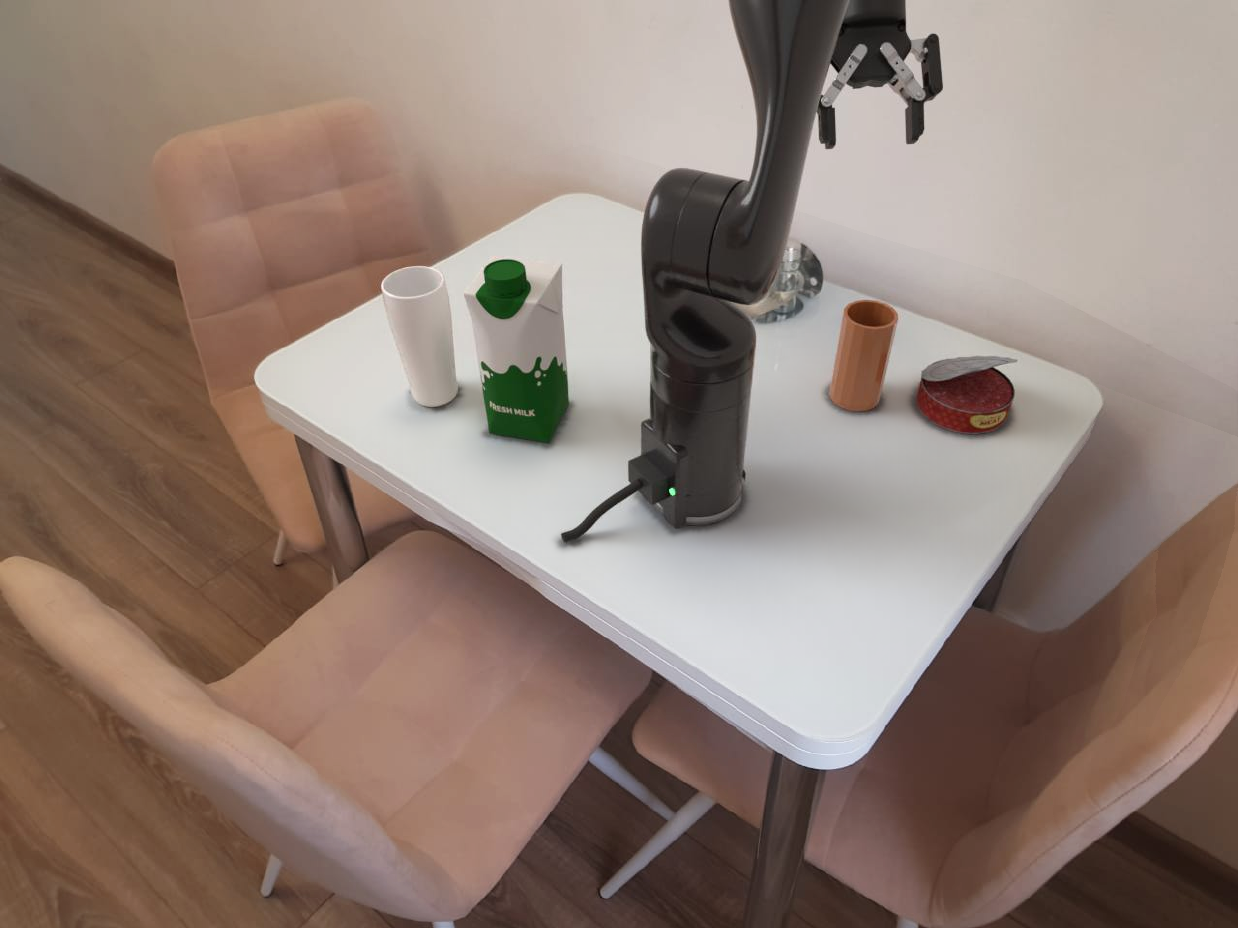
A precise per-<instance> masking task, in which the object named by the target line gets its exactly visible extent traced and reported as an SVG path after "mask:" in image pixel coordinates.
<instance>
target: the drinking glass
mask: <svg viewBox="0 0 1238 928" xmlns="http://www.w3.org/2000/svg"><path fill="white" fill-rule="evenodd" d="M380 288H381V289H380V290H381V293H382V299H383V301H382V302H383V306H384V309H385V314H386V319H387V321H388V325H389V328H390V331H391V334H392V337H393V341H394V343H395V346H396V348H397V351H398V354H399V357H400V361H401V363H402V364H401V365H402V366H403V367H402V368H403V370H404V373H405V375H406V379H407V382H408V385H409V386H408V387H409V391H410V394H411V397H412V399H413V401H414V402H416V404H418V405H420V406H422V407H428V408H434V407H441V406H444V405H447V404H448V403H450V402H452V401H453V400H454V399H455V398H456V396H457V394H458V391H459V385H458V379H457V370H456V360H455V359H456V358H455V347H454V346H455V345H454V332H453V331H454V330H453V319H452V309H451V302H450V295H449V291H448V287H447V283H446V278H445V275H444V274H443V273H442V272H441V271H440V270H439V269H437V268H434V267H431V266H425V265H413V266H412V265H411V266H407V267H402V268H399V269H396V270H394V271H392V272H390V273H389V274H387V275H386V276H385V277H384V278H383V280H382V282H381V284H380Z"/></svg>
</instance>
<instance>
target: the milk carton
mask: <svg viewBox="0 0 1238 928" xmlns="http://www.w3.org/2000/svg"><path fill="white" fill-rule="evenodd" d="M463 297H464V300H465V303H466V306H467V309H468V310H467V311H468V313H469V316H470V321H471V325H472V332H473V338H474V343H475V344H474V345H475V351H476V358H477V364H478V370H479V371H478V372H479V376H480V382H481V383H480V384H481V390H482V396H483V397H482V398H483V403H484V408H485V414H486V419H487V426H488V433H489V434H493V435H499V436H505V437H508V438H509V437H510V438H516V439H522V440H527V441H534V442H540V443H546V444H549V443H550V442H551V440H552V438H553V436H554V434H555V432H556V430H557V428H558V426H559V424H560V422H561V420H562V418H563V416H564V415H565V412H566V410H567V409H568V407H569V406H570V401H569V380H568V379H569V378H568V361H567V348H566V336H565V335H566V334H565V322H564V321H565V320H564V310H563V308H564V304H563V263H560V262H554V261H553V262H552V261H544V260H537V259H530V258H529V259H527V258H520V257H513V256H506V255H505V256H504V255H496V254H493V255H492V256H491V257H490V258H489V260H488V261H487V262H486V263H485V265H483V266H482V267H481V268H480V269H479V270H478V273H477V274H476V276H475V277H474V278H473V280H472V281H471V282H470V284H469V285H468V286H467V288H466V289H465V291H464V292H463Z"/></svg>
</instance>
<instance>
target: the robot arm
mask: <svg viewBox="0 0 1238 928" xmlns="http://www.w3.org/2000/svg"><path fill="white" fill-rule="evenodd" d="M728 6H729V11H730V17H731V21H732V25H733V30H734V33H735V37H736V40H737V43H738V47H739V50H740V53H741V56H742V59H743V60H742V61H743V63H744V66H745V69H746V73H747V75H748V80H749V85H750V87H751V92H752V99H753V105H754V110H755V119H756V120H755V121H756V137H755V138H756V141H755V148H754V149H755V150H754V158H753V163H752V167H751V172H750V173H751V174H750V177H749V180H746V179H741V178H737V177H732V176H728V175H722V174H719V173H718V174H717V173H714V172H707V171H703V170H699V169H694V168H693V169H692V168H686V167H677V168H672V169H670V170H668V171H667V172H665V173H664V174H662V175H661V176H660V177H659V179H658V180H657V181H656V182H655V184H654V186H653V187H652V190H651V191H650V194H649V196H648V199H647V201H646V205H645V209H644V213H643V218H642V224H641V225H642V226H641V233H640V234H641V235H640V236H641V237H640V257H641V258H640V264H641V265H640V266H641V277H642V278H641V279H642V291H643V293H642V294H643V308H644V309H643V310H644V313H643V315H644V329H645V335H646V337H647V340H648V342H649V355H650V356H649V359H650V360H649V361H650V362H649V364H650V365H649V368H650V369H649V373H650V374H649V418H647V419H644V420H642V421H641V423H640V455H638V456H636V457H633V458H631V459H629V460H627V474H628V475H627V478H628V479H627V480H628V482H629V484H627V485H626V486H624V487H623V488H621V489H619V490H618V491H616V492H615V493H614V494H612V495H611V496H609V497H607V498H606V499H605V500H604V501H603V502H601V503H599V504H598V505H597V506H596V507H595V508H594V509H592V510H591V512H590V513H589V514H588V515H587V516H586V517H585V518H584V520H582V522H581V523H580V524H578V525H577V526H576V527H574V528H573V529H570V530H567V531H564V532H561V533H560V537H561V540H562V542H563V543H568V542H572V541H574V540H576V539H579V538H580V537H582V536H583V535H584V534H586V533H587V532H588V531H589V530H590V529H591V528H592V527H593V526H594V525H595V523H596V522H597V521H598V520H599V519H600V518H601V517H602V516H604V515H605V514H606V513H608V511H610V510H611V509H613V508H614V507H615V506H617V505H618V504H620V503H621V502H623V501H624V500H626V499H627V498H629V497H630V496H632V495H633V494H635V493H637V492H638V493H639V494H641V496H642V497H643V498H644V499H645V500H646V501H647V502H648V503H649V504H650V505H651V506H653V508H654V509H655V510H656V511H657V512H658V513H659V514H660V515H661V516H663V517H664V518H665V520H666V521H667V522H668V523H669V524H670V525H671V526H672V527H673V528H675V529H678V528H681V527H683V526H686V525H687V526H688V525H689V526H707V525H711V524H715V523H719V522H721V521H723V520H725V519H727V518H729V516H732V515H733V513H735V511H736V510H737V509H738V508H739V507H740V504H741V501H742V496H743V480H744V482H746V477H747V473H746V471H745V469H744V466H745V456H746V447H747V438H748V437H747V436H748V426H749V417H750V409H751V398H752V389H753V388H752V387H753V381H754V380H753V378H754V368H755V360H756V359H755V358H756V350H757V349H756V348H757V331H756V326H755V325H754V323H753V320H751V318H750V317H749V315H748V314H747V313H745V312H744V311H743V310H742V309H741V308H740V307H738V306H737V305H736V304H738V305H743V306H754V305H756V304H759V303H760V302H761V301H762V300H764V299H765V297H766V296H767V295H768V293H769V292H770V290H771V289H772V287H773V285H774V283H775V281H776V278H777V276H778V274H779V271H780V269H781V265H782V263H783V260H784V256H785V253H786V250H787V245H788V241H789V237H790V233H791V229H792V224H793V220H794V216H795V211H796V206H797V201H798V197H799V192H800V188H801V183H802V179H803V174H804V170H805V166H806V165H805V164H806V160H807V156H808V151H809V147H810V143H811V138H812V134H813V130H814V129H813V128H814V124H815V121H816V115H817V124H818V125H817V126H818V140H819V143H820V144H821V145H823V144H824V147H825V148H824V149H825V150H833V149H834V148H835V147H836V145H837V128H836V108H835V107H833V104H834V102H835V101H836V99H837V98H838V96H839V95H840V94H841V92H842V90H843V89H844V87H845V85H847V86H849V87H851V88H852V89H853V90H855V89H857V90H858V89H862V88H866V87H871V88H883V87H884V86H885V85H886V84H887V85H888V86H889V88H890V89H891V91H893V92H894V93H895V94H897V95H898V96H899V97H900V98H901V99H902V100H903V102H904V103H905V104H906V105H907V107H906V108H905V109H904V117H905V118H904V120H905V143H906V145H915V144H916V143H917V142H918V141H919V139H920V137H921V136H922V135H924V131H925V103H926V102H930V101H933V100H934V99H935V98H936V97H937V96H938V95H939V94H941V92H942V91H943V89H944V81H943V70H942V57H941V46H940V38H939V35H938V34H936V33H930V34H929V35H928V36H927V37H924V38H923V37H922V38H917V39H911V38H910V37H909V34H908V32H907V10H906V9H907V3H906V0H728ZM909 54H912V55H914V59H915V60H916V62H918V63H920V67H921V79H922V85H920V83H919V82H918V81H917V80H916V78H915V75H914V73H913V71H912V70H911V69H910V68H909V66H908V65H907V64H906V62H905V60H906V58H908V56H909ZM830 65H831V66H832V68H833V69H834V70H835V71H836V73H837V75H836V76H835V78H834V79H833V81H832V83H831V84H830V86H829V87H828V88H827V89H826V91H825V93H823V90H824V85H825V82H826V79H827V76H828V72H829V68H830ZM822 93H823V94H822Z"/></svg>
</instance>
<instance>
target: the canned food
mask: <svg viewBox="0 0 1238 928" xmlns="http://www.w3.org/2000/svg"><path fill="white" fill-rule="evenodd" d="M1017 362H1018V358H1017V359H1016V358H1011V357H1008V356H1007V357H1004V356H999V355H998V356H997V355H989V356H988V355H987V356H985V355H972V356H958V357H954V358H946V359H941V360H937V361H934V362H932V363H931V364H929V365H927V366H926V367H925V368H924V369H922V370H921V375H920V381H919V385H918V389H917V392H916V396H915V403H916V406H917V409H918V411H919V412H920V413H921V415H922V416H923V417H924V418H925V419H927V420H928V421H929V422H930V423H931V424H934V425H936V426H937V427H940V428H942V429H944V430H947V431H950V432H953V433H957V434H965V435H981V434H986V433H990V432H993V431H995V430H997V429H999V428H1000V427H1002V426H1003V425H1004V424H1005V422H1006V420H1007V419H1008V415H1009V412H1010V409H1011V406H1012V404H1013V401H1014V399H1015V395H1016V390H1015V387H1014V384H1013V382H1012V380H1011V379H1010V378H1009V377H1008V376H1007V375H1006V374H1004V372H1002V371H1000V370H999V369H997V368H996V367H999V366H1003V365H1008V364H1014V363H1017Z"/></svg>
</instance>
